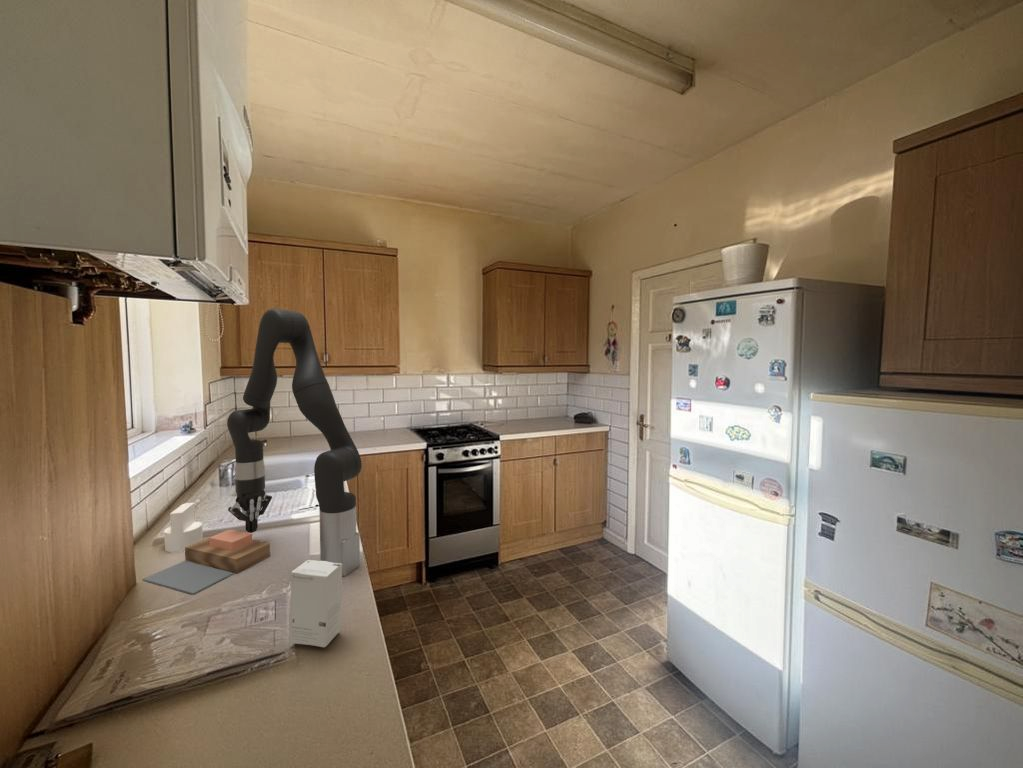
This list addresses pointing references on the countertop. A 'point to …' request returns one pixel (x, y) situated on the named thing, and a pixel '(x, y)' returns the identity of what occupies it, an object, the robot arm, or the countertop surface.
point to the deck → (227, 555)
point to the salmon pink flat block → (230, 540)
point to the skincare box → (315, 603)
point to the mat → (188, 577)
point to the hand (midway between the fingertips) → (251, 531)
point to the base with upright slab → (182, 529)
